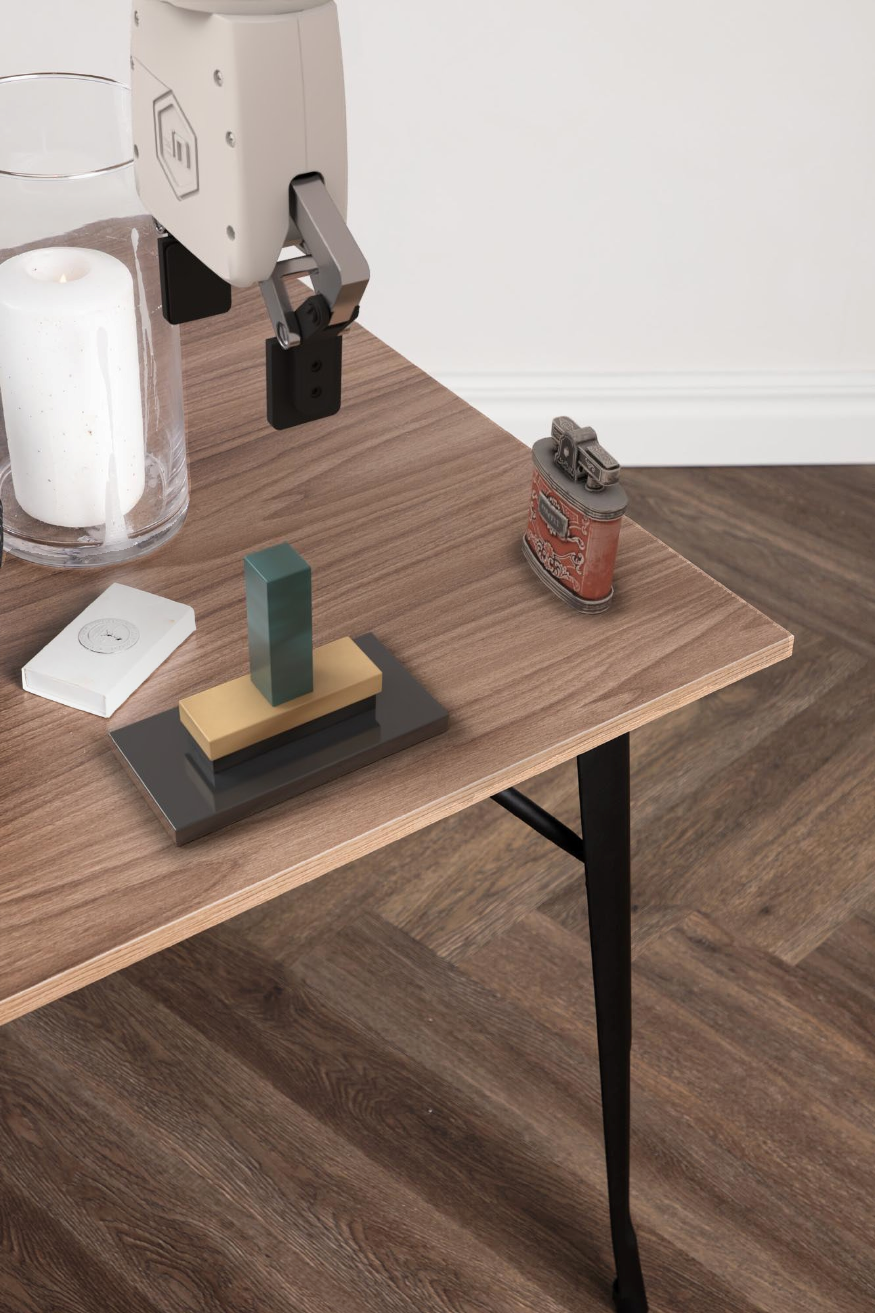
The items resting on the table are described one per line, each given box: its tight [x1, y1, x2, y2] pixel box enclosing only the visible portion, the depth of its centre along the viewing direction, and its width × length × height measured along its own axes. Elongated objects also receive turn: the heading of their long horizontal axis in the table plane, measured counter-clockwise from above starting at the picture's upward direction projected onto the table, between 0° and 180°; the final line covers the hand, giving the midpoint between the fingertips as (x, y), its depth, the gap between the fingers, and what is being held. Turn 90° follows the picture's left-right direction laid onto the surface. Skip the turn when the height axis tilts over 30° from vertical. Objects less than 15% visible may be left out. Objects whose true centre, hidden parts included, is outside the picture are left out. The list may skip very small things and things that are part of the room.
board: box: [107, 631, 450, 847], centre depth 75 cm, size 16×8×1 cm, turn 124°
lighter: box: [521, 415, 629, 615], centre depth 84 cm, size 8×3×10 cm, turn 27°
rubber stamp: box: [178, 541, 382, 774], centre depth 71 cm, size 10×4×11 cm, turn 124°
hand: (248, 365), depth 61 cm, fingers open, 9 cm apart
